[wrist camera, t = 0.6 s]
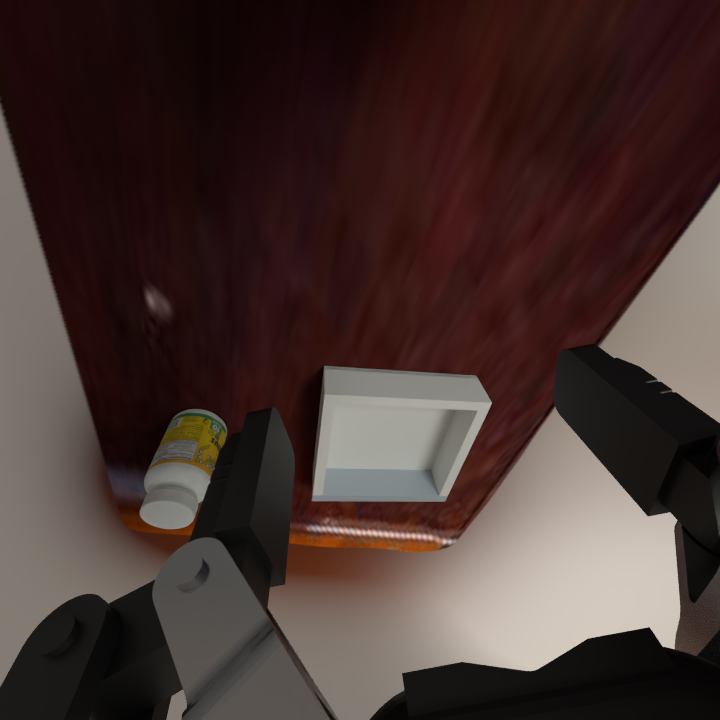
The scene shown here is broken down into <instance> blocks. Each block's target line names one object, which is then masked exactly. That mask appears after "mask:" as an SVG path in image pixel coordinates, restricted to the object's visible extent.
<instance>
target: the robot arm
mask: <svg viewBox="0 0 720 720" xmlns="http://www.w3.org/2000/svg"><path fill="white" fill-rule="evenodd" d="M553 399H554V404H555V407H556V409H557V411H558V413H559V414H560V415H561V417H562V418H563V419H564V420H565V421H566V422H567V424H568V425H569V426H570V427H571V428H572V429H573V431H575V433H576V434H577V435H578V436H579V437H580V439H581V440H582V441H583V442H584V443H585V444H586V445H587V447H588V448H589V449H590V450H591V451H592V452H593V453H594V455H595V456H596V457H597V458H598V459H599V460H600V462H601V463H602V464H603V465H604V466H605V467H606V468H607V470H608V471H609V472H610V473H611V474H612V475H613V477H614V478H615V479H616V480H617V481H618V482H619V483H620V485H621V486H622V487H623V488H624V489H625V490H626V492H627V493H628V494H629V495H630V496H631V497H632V498H633V500H634V501H635V502H636V503H637V504H638V505H639V506H640V508H641V509H642V510H643V511H644V512H645V513H646V515H647V516H652V515H657V514H663V513H668V512H671V513H672V514H673V515H674V517H675V518H676V519H677V520H678V521H677V523H676V525H675V530H674V532H675V544H676V557H677V569H678V582H679V594H680V620H679V625H678V629H677V633H676V639H675V649H670V648H666V647H662V645H661V644H660V642H659V641H658V639H657V638H656V636H655V635H654V633H653V632H652V630H651V629H650V628H644V629H638V630H633V631H627V632H622V633H616V634H611V635H606V636H600V637H595V638H590V639H587V640H585V641H584V642H582V643H581V644H579V645H577V646H576V647H574V648H572V649H571V650H569V651H567V652H566V653H564V654H563V655H561V656H559V657H558V658H556V659H554V660H553V661H551V662H549V663H548V664H546V665H545V666H543V667H541V668H540V669H538V670H535V671H521V670H514V669H507V668H500V667H493V666H486V665H478V664H472V663H464V662H461V663H455V664H450V665H444V666H439V667H434V668H428V669H423V670H418V671H412V672H407V673H402V676H403V682H404V689H405V690H404V691H403V692H401V693H399V694H397V695H396V696H394V697H393V698H391V699H390V700H389V701H388V702H387V703H385V704H384V705H383V706H382V707H381V708H380V709H379V710H378V711H377V712H376V713H375V714H374V715H373V716H372V718H371V719H370V720H720V423H718V422H717V421H715V420H714V419H713V418H711V417H710V416H709V415H707V414H706V413H704V412H703V411H702V410H700V409H699V408H697V407H696V406H694V405H693V404H692V403H690V402H689V401H687V400H686V399H684V398H683V397H682V396H680V395H679V394H678V393H673V392H672V389H671V388H669V387H668V386H666V385H665V384H663V383H662V382H658V381H657V379H656V378H655V377H654V376H652V375H651V374H649V373H648V372H646V371H645V370H644V369H642V368H641V367H639V366H637V365H634V364H632V363H629V362H627V361H624V360H621V359H619V358H613V357H612V356H610V355H609V354H608V353H606V352H605V351H604V350H602V349H601V348H599V347H598V346H596V345H594V344H589V345H584V346H579V347H574V348H569V349H564V350H562V351H561V352H560V354H559V357H558V364H557V371H556V378H555V384H554V391H553ZM214 467H215V469H214V470H213V472H212V475H211V478H210V484H208V487H207V490H206V493H205V496H204V499H203V502H202V505H201V508H200V511H199V514H198V517H197V520H196V523H195V526H194V529H193V532H192V535H191V538H190V541H189V543H187V544H185V545H184V546H182V547H181V548H179V549H178V550H177V551H176V552H175V553H173V554H172V556H171V557H170V558H169V559H168V560H167V561H166V562H165V563H164V565H163V566H162V568H161V569H160V571H159V573H158V575H157V577H156V579H155V580H153V581H152V582H150V583H148V584H146V585H144V586H142V587H140V588H138V589H137V590H134V591H132V592H130V593H129V594H127V595H125V596H123V597H121V598H119V599H117V600H115V601H113V602H111V603H109V604H108V603H107V602H106V601H105V600H103V599H102V598H101V597H100V596H98V595H95V594H85V595H81V596H78V597H75V598H73V599H71V600H69V601H67V602H66V603H64V604H62V605H61V606H60V607H58V608H57V609H55V610H54V611H53V612H52V613H51V614H49V615H48V616H47V617H46V618H45V619H44V620H43V621H42V622H41V623H40V624H39V625H38V626H37V628H36V629H35V630H34V631H33V632H32V634H31V635H30V636H29V638H28V639H27V641H26V642H25V644H24V645H23V647H22V649H21V651H20V652H19V654H18V656H17V658H16V660H15V662H14V663H13V665H12V667H11V669H10V671H9V672H8V674H7V676H6V678H5V680H4V682H3V683H2V685H1V687H0V720H166V718H167V713H168V709H169V704H170V700H171V696H172V695H174V694H176V693H177V692H179V691H181V690H182V689H183V690H184V693H185V696H186V700H187V709H186V710H185V711H184V712H183V714H182V720H338V718H337V716H336V715H335V713H334V712H333V710H332V709H331V707H330V705H329V704H328V703H327V701H326V699H325V698H324V696H323V695H322V693H321V692H320V690H319V689H318V687H317V686H316V684H315V683H314V681H313V679H312V678H311V676H310V675H309V673H308V671H307V670H306V668H305V667H304V665H303V663H302V662H301V660H300V659H299V657H298V655H297V654H296V652H295V651H294V649H293V648H292V646H291V645H290V643H289V641H288V640H287V638H286V636H285V635H284V633H283V632H282V630H281V628H280V627H279V625H278V623H277V622H276V620H275V619H274V617H273V615H272V614H271V612H270V611H269V609H268V608H267V606H268V597H269V589H270V587H273V586H279V585H284V584H285V578H286V566H287V554H288V542H289V531H290V519H291V507H292V495H293V483H294V471H295V458H294V452H293V448H292V445H291V442H290V440H289V437H288V435H287V432H286V430H285V427H284V425H283V422H282V420H281V417H280V415H279V412H278V410H277V409H276V408H275V407H273V408H268V409H263V410H258V411H253V412H249V413H247V415H246V418H245V421H244V425H243V429H242V432H241V433H237V434H232V435H231V436H230V438H229V439H228V440H227V441H226V443H225V444H224V445H223V447H222V448H221V449H220V451H219V454H218V457H217V460H216V463H215V466H214Z"/></svg>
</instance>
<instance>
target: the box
mask: <svg viewBox="0 0 720 720" xmlns="http://www.w3.org/2000/svg"><path fill="white" fill-rule="evenodd" d="M491 404H492V402H491V400H490V399H489V397H488V395H487V393H486V392H485V390H484V388H483V387H482V385H481V383H480V382H479V380H478V378H477V376H474V375H458V374H443V373H427V372H412V371H396V370H381V369H365V368H349V367H334V366H324V372H323V381H322V390H321V399H320V408H319V417H318V426H317V435H316V444H315V453H314V462H313V476H312V501H445V500H446V498H447V496H448V494H449V492H450V490H451V488H452V486H453V484H454V482H455V479H456V477H457V475H458V473H459V471H460V469H461V467H462V465H463V463H464V461H465V459H466V456H467V454H468V452H469V450H470V448H471V446H472V444H473V442H474V440H475V438H476V435H477V433H478V431H479V429H480V427H481V425H482V423H483V421H484V419H485V417H486V415H487V412H488V410H489V408H490V406H491Z"/></svg>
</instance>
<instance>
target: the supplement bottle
mask: <svg viewBox="0 0 720 720" xmlns="http://www.w3.org/2000/svg"><path fill="white" fill-rule="evenodd" d="M226 436H227V428H226V425H225V423H224V422H223V420H222V419H220V418H219V417H218V416H217V415H216V414H214V413H212V412H210V411H207V410H203V409H188V410H184V411H182V412H180V413H178V414H177V415H176V416H174V418H173V419H172V420H171V422H170V424H169V426H168V428H167V430H166V432H165V435H164V437H163V439H162V441H161V443H160V446H159V448H158V450H157V452H156V454H155V456H154V458H153V460H152V462H151V465H150V467H149V469H148V471H147V473H146V476H145V479H144V487H145V490H146V492H147V495H146V497H145V498H144V502H143V504H142V506H141V509H140V516H141V518H142V519H143V520H144V521H145V522H146V523H148V524H150V525H152V526H155V527H158V528H163V529H179V528H183V527H186V526H188V525H189V524H191V523H192V522H193V520H194V518H195V515H196V512H197V509H198V503H200V502H201V501H203V499H204V496H205V493H206V490H207V487H208V484H210V478H211V475H212V472H213V470H214V469H215V467H214V466H215V463H216V460H217V457H218V454H219V451H220V449H221V448H222V447H223V445H224V443H225V439H226Z"/></svg>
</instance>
